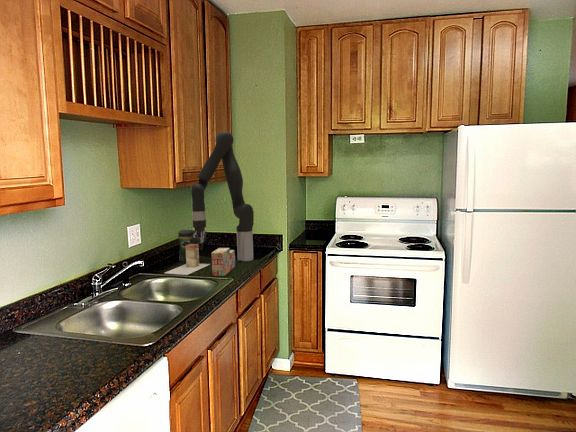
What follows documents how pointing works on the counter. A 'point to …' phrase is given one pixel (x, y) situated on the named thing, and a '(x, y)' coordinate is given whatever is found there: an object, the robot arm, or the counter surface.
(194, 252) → the birch block
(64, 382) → the counter surface
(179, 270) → the grey mat
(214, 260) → the printed cardboard box
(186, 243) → the coffee jar
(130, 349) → the counter surface
